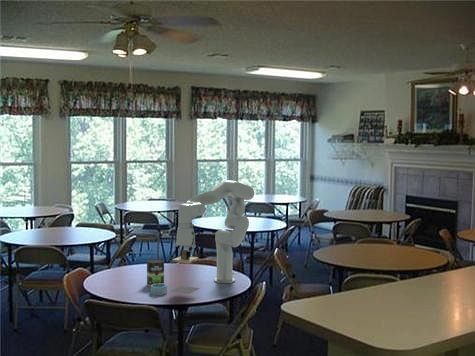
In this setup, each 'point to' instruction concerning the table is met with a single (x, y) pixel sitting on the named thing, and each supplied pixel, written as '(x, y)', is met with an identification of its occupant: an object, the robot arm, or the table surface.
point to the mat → (185, 289)
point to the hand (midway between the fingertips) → (185, 257)
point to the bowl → (158, 289)
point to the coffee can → (155, 271)
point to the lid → (185, 258)
